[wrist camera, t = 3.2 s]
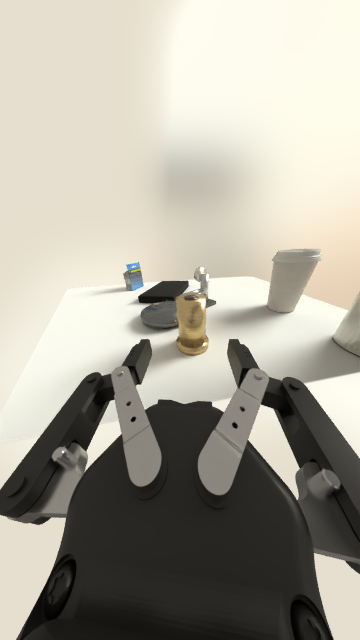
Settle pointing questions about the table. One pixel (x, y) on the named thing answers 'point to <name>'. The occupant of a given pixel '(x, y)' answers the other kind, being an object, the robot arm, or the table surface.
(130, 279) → the label tape box
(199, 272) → the dial gauge stand
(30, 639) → the robot arm
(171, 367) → the table surface
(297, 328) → the table surface
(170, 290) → the external hard drive
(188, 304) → the brass cover
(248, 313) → the table surface
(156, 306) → the turntable platter
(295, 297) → the coffee cup
